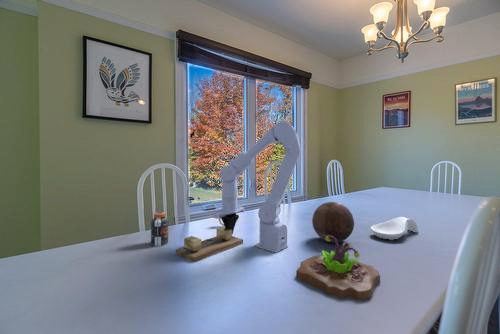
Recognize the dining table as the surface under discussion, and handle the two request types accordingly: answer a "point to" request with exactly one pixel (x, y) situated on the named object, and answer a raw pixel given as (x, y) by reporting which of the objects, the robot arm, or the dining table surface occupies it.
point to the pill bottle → (159, 229)
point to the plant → (339, 273)
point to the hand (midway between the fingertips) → (229, 234)
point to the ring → (220, 221)
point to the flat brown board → (205, 247)
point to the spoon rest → (393, 228)
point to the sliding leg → (224, 233)
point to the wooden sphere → (333, 221)
